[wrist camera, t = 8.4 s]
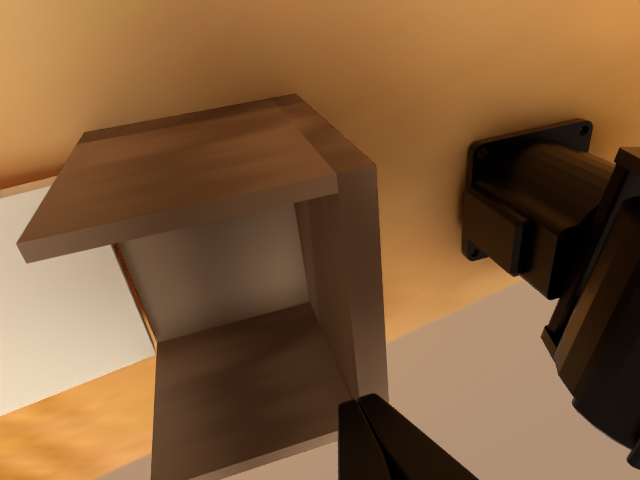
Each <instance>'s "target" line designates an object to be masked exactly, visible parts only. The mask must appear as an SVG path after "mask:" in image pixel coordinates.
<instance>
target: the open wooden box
mask: <svg viewBox="0 0 640 480" xmlns="http://www.w3.org/2000/svg"><path fill="white" fill-rule="evenodd" d="M116 243H117V245H118V248H119V250H120V253H121V255H122V258H123V260H124V263H125V265H126V267H127V270H128V272H129V275H130V277H131V280H132V282H133V285H134V287H135V290H136V292H137V295H138V297H139V299H140V302H141V304H142V307H143V309H144V312H145V314H146V317H147V319H148V322H149V324H150V327H151V329H152V331H153V334H154V336H155V339H156V341H157V356H156V377H155V399H154V420H153V441H152V463H151V480H220V479H223V478H226V477H229V476H232V475H235V474H238V473H241V472H244V471H247V470H250V469H253V468H256V467H259V466H262V465H265V464H268V463H271V462H274V461H277V460H280V459H283V458H287V457H289V456H293V455H296V454H298V453H302V452H305V451H307V450H311V449H314V448H317V447H320V446H322V445H326V444H329V443H332V442H335V441H338V405H339V403H342V402H345V401H348V400H352V399H356V400H357V399H358V398H359V397H361V396H364V395H367V394H371V393H376V394H378V395H379V396H380V397H382V398H383V399H384V400H385V401H386V402H388V403H389V397H388V378H387V361H386V360H387V359H386V341H385V322H384V303H383V284H382V265H381V246H380V228H379V209H378V190H377V171H376V164H375V163H374V162H372V161H371V160H370V159H369V158H368V157H367V156H366V155H364V154H363V153H362V152H361V151H360V150H359V149H358V148H357V147H355V146H354V145H353V144H352V143H351V142H350V141H349V140H347V139H346V138H345V137H344V136H343V135H342V134H341V133H340V132H338V131H337V130H336V129H335V128H334V127H333V126H332V125H330V124H329V123H328V122H327V121H326V120H325V119H324V118H322V117H321V116H320V115H319V114H318V113H317V112H316V111H315V110H313V109H312V108H311V107H310V106H309V105H308V104H307V103H305V102H304V101H303V100H302V99H301V98H300V97H299V96H298V95H296V94H292V95H287V96H281V97H276V98H270V99H265V100H259V101H254V102H248V103H243V104H238V105H232V106H227V107H221V108H216V109H210V110H205V111H199V112H194V113H189V114H183V115H178V116H172V117H167V118H161V119H156V120H150V121H145V122H139V123H134V124H129V125H123V126H118V127H112V128H107V129H101V130H96V131H90V132H85V133H84V134H83V135H82V137H81V138H80V140H79V142H78V143H77V145H76V147H75V148H74V150H73V152H72V153H71V155H70V156H69V158H68V160H67V161H66V163H65V165H64V166H63V168H62V169H61V171H60V173H59V174H58V176H57V178H56V179H55V181H54V182H53V184H52V186H51V187H50V189H49V191H48V192H47V194H46V195H45V197H44V199H43V200H42V202H41V204H40V205H39V207H38V208H37V210H36V212H35V213H34V215H33V217H32V218H31V220H30V222H29V223H28V225H27V226H26V228H25V230H24V231H23V233H22V235H21V236H20V238H19V239H18V241H17V243H16V245H17V247H18V249H19V251H20V253H21V255H22V256H23V258H24V260H25V262H26V264H28V263H32V262H36V261H41V260H45V259H50V258H54V257H58V256H63V255H67V254H72V253H76V252H80V251H85V250H89V249H94V248H98V247H102V246H107V245H111V244H116Z"/></svg>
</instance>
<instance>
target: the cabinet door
mask: <svg viewBox="0 0 640 480" xmlns="http://www.w3.org/2000/svg"><path fill="white" fill-rule="evenodd" d="M56 178H57V176H54V177H50V178H46V179H42V180H38V181H34V182H30V183H26V184H22V185H18V186H14V187H10V188H6V189H2V190H0V416H2V415H4V414H7V413H9V412H12V411H14V410H17V409H20V408H22V407H25V406H27V405H30V404H32V403H35V402H37V401H40V400H42V399H45V398H47V397H50V396H52V395H55V394H58V393H60V392H63V391H65V390H68V389H70V388H73V387H75V386H78V385H80V384H83V383H85V382H88V381H90V380H93V379H95V378H98V377H101V376H103V375H106V374H108V373H111V372H113V371H116V370H118V369H121V368H123V367H126V366H128V365H131V364H133V363H136V362H138V361H141V360H144V359H146V358H149V357H151V356H154V355H156V352H155V348H154V344H153V340H152V338H151V336H150V333H149V331H148V328H147V326H146V323H145V321H144V319H143V316H142V314H141V311H140V309H139V306H138V304H137V301H136V299H135V297H134V294H133V292H132V289H131V287H130V284H129V282H128V280H127V277H126V275H125V272H124V270H123V267H122V265H121V263H120V260H119V258H118V255H117V253H116V250H115V248H114V246H113V244H111V245H107V246H102V247H98V248H94V249H89V250H85V251H80V252H76V253H72V254H67V255H63V256H58V257H54V258H50V259H45V260H41V261H36V262H32V263H28V264H26V262H25V260H24V258H23V256H22V255H21V253H20V251H19V249H18V247H17V245H16V243H17V241H18V239H19V238H20V236H21V235H22V233H23V231H24V230H25V228H26V226H27V225H28V223H29V222H30V220H31V218H32V217H33V215H34V213H35V212H36V210H37V208H38V207H39V205H40V204H41V202H42V200H43V199H44V197H45V195H46V194H47V192H48V191H49V189H50V187H51V186H52V184H53V182H54V181H55V179H56Z"/></svg>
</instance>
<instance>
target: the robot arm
mask: <svg viewBox="0 0 640 480" xmlns="http://www.w3.org/2000/svg"><path fill="white" fill-rule="evenodd" d="M581 128H582V130H581V131H580V129H581ZM592 130H593V125H592V122H590V121H588V120H585V119H576V120H572V121H567V122H562V123H558V124H553V125H549V126H544V127H540V128H535V129H530V130H526V131H521V132H517V133H512V134H508V135H503V136H498V137H494V138H489V139H485V140H480V141H477V142H475V143H474V144H473V145H471V147H470V149H469V153H468V168H467V185H466V189H465V192H464V209H463V226H462V234H463V235H464V237H463V255H464V256H465V257H466V258H467V259H468V260H470V261H476V260H479V259H483V258H487V257H490V258H491V259H492V260H493V261H495V262H496V263H497V264H498V265H499V266H500V267H502V268H503V269H504V270H505V271H506V272H507V273H509V274H510V275H511V276H513V277H515V276H519V275H520V276H521V277H522V278H523V279H524V280H526V281H527V282H528V283H529V284H530V285H532V286H533V287H534V288H535V289H536V290H538V291H539V292H540V293H541V294H542V295H544V296H545V297H546V298H547V299H548V300H553V299H557V298H559V300H558V303H557V305H556V307H555V310H554V312H553V315H552V317H551V319H550V322H549V324H548V325H547V326H545V327H544V330H543V332H542V335H541V338H542V340H543V342H544V344H545V346H546V347H547V349H548V351H549V353H550V355H551V357H552V358H553V360H554V362H555V364H556V368H557V372H558V375H559V376H560V378H561V379H562V381H563V382H564V384H565V385H566V387H567V388H568V390H569V391H570V393H571V394H572V395H573V397H574V398H573V400H572V405H573V406H574V408H575V409H576V410H577V412H578V413H580V414H581V415H582V416H583V417H584V418H585V419H586V420H587V421H588V422H589V423H590V424H592V425H593V426H594V427H595V428H596V429H598V430H599V431H601V432H602V433H604V434H605V435H606V436H608V437H609V438H611V439H612V440H614V441H615V442H617V443H619V444H621V445H622V446H624V447H626V448H628V449H630V450H631V452H630V453H629V455H628V457H627V462H628V463H629V464H630V465H631V466H632V467H634V468H637V469H639V470H640V147H620V148H619V151H618V153H617V155H616V158H615V160H614V162H615V163H616V164H614V163H611V162H609V161H606V160H604V159H601V158H599V157H596V156H594V155H591V154H589V153H588V150H589V145H590V140H591V135H592ZM481 149H483V151H482V153H481V154H480V155H479V156H478V152H479V151H480V150H481ZM474 249H475V251H474V252H472V251H473V250H474ZM471 252H472V253H471ZM338 480H479V479H478V478H476V477H475V476H474V475H473V474H472V473H471V472H470V471H468V470H467V469H466V468H465V467H464V466H462V465H461V464H460V463H459V462H458V461H456V460H455V459H454V458H453V457H451V456H450V455H449V454H448V453H447V452H446V451H445V450H443V449H442V448H441V447H440V446H438V445H437V444H436V443H435V442H434V441H433V440H431V439H430V438H429V437H428V436H427V435H426V434H424V433H423V432H422V431H421V430H420V429H418V428H417V427H416V426H415V425H414V424H412V423H411V422H410V421H409V420H408V419H406V418H405V417H404V416H403V415H402V414H401V413H399V412H398V411H397V410H396V409H395V408H393V407H392V406H391V405H390V404H389V403H388V402H386V401H385V400H384V399H383V398H382V397H380V396H379V395H378V394H376V393H371V394H367V395H364V396H361V397H359V398H358V399H357V400H356V399H352V400H348V401H345V402H342V403H339V405H338Z"/></svg>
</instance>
